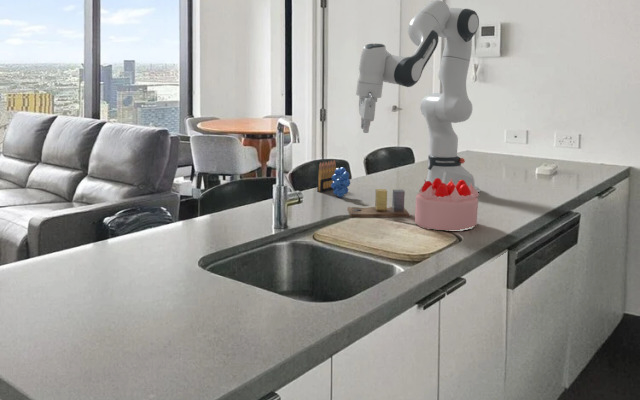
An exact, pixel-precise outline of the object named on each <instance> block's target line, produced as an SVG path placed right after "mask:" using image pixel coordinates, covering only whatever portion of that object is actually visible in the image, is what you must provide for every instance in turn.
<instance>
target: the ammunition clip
mask: <svg viewBox="0 0 640 400" xmlns="http://www.w3.org/2000/svg"><path fill="white" fill-rule="evenodd" d="M336 169H337V164H336V159H334V160H328V162H327V161H322V162H321V161H320V162H319V166H318V178H317V185H316V186H317V188H316V190H317V191H316V192H318V193H324V192H328V191H332V190H333V191H334V189H333V188H332V187H331V184H332V183H333V182H334V181H333V180H332V176H333V175H334V174H335V173H334V172H335V170H336Z"/></svg>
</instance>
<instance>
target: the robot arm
mask: <svg viewBox="0 0 640 400" xmlns="http://www.w3.org/2000/svg"><path fill="white" fill-rule="evenodd" d="M479 26H480V19H479V15H478V13H477V11H475V10H474V9H470V8H459V7H451V8H450V7H449V6H448V4H447V3H445V2H444V1H443V0H432V1H431V2H429V3H428V4H426V5H425V6H423V7H422V8H421V9H420V10H419V11H418V12H417V13H416V14H415V15H414V16H413V17H412V18H411V20H410V21H409V23H408V26H407V33H408V37H409V39H410V41H411V42H412V43H413V44H414V45H416V46H417V48H416V49H415V51H414V53H413V54H411V55H407V56H399V55H393V54H391V53H390V52H389V51H387V48H386V45H385V44H383V43H369V44H365V45H363V48H362V51H361V54H360V61H359V68H358V71H359V76H358V77H357V84H356V94H355V96H358V112H359V115H360V120H361V122H360V125H361V126H360V128H361V129H362V132H363V133H364V134H368V133H369V130H370V126H371V122H373V121H374V120H375V114H376V107H377V106H376V105H377V104H376V103H377V102H378V99H380V98H382V96H383V87H384V83H388V84H394V85H399V86H402V87H407V88H411V87H413V86H415V85H416V84H417V83H418V81H420V79H421V77H422V73H423V71H424V69H425V68H426V66H427V63H429V60H430V59H431V57H432V56H433V54H434V52H435V50H436V49H437V46H438V43H439V38H445V39H446V42H445V45H444V49H443V51H442V55H441V60H440V65H439V70H438V80H439V81H440V82H441V86H442V87H441V88H442V92H441V93H440V92H439V93H438V92H437V93H432V94H431V93H430V94H427V95H425V96H424V97H423V98H422V100H421V102H420V107H419V108H420V109H419V110H420V112H421V115H423V117H424V119H425V120H426V124H427V128H428V132H429V133H428V134H429V155H428V156H427V157H428V159H427V177H426V179H425V180H426V181H430V182H431V183H433V181H434V180H435V179H436V178H439V179H441V181H442V183H445V184H446V186H447V184H448V183H449V182H450V179H452V181H453V183H454V184H455V185H457V183H458V182H459V181H460V180H464V181H465V182H466V184H467V185H468V187H470V185H471V183H472V186H473V187H474V188H475V189H476V190H477V191H478V192H479V193H481V189H480V188H479V186H476V183H475V178H474V176H473V174H472V173H471V172H470V171H469V170H467V169H466V168H465V167H464V166H462V164H464V163H465V158H463V157H460V156H458V149H459V148H458V145H459V144H458V143H459V138H458V137H459V136H458V135H457V134H456V132H455V131H454V128H453V124H456V123H463V122H466V121H467V120H469V119H470V117H471V115H472V113H473V104H472V101H471V100H470V98H469V96H468V92H467V79H468V77H467V76H468V71H469V67H470V63H471V62H470V61H471V55H472V49H473V48H472V46H473V39H472V38H473V37H474V36H475V34H476V33H477V32H478V29H479ZM452 123H453V124H452Z"/></svg>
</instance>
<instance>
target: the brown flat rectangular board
mask: <svg viewBox="0 0 640 400" xmlns="http://www.w3.org/2000/svg"><path fill="white" fill-rule="evenodd" d="M347 211H348V215H349V217H350V218H410V213H409V212H408V210H407V208H405V207H404V212H394V211H393V210H392V206H387V210H376V209H375V206H347Z"/></svg>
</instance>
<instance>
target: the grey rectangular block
mask: <svg viewBox="0 0 640 400" xmlns="http://www.w3.org/2000/svg"><path fill="white" fill-rule="evenodd" d="M405 194H406V193H405V190H404V189H392V201H391V202H392V203H391V205H392V206H391V207H392V210H393V211H394V212H404V208H405Z"/></svg>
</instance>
